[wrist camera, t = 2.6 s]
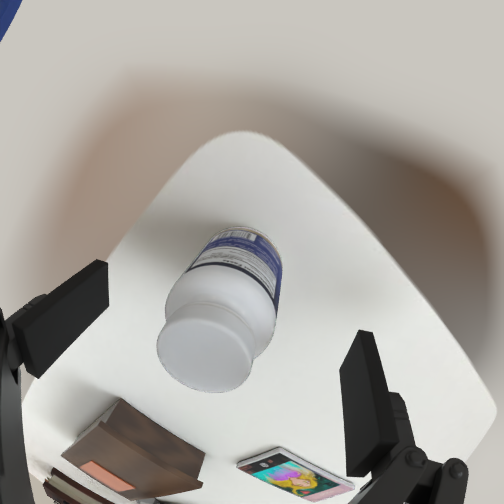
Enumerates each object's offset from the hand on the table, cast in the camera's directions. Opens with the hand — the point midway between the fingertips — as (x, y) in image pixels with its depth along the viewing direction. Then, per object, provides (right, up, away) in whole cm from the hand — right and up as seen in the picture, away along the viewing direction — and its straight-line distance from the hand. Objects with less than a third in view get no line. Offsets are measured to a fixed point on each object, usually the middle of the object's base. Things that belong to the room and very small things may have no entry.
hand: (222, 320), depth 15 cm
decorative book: (-41, -63, +39) cm, 85 cm away
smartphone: (+7, -24, +16) cm, 30 cm away
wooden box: (-15, -23, +19) cm, 33 cm away
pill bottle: (+1, +3, +6) cm, 7 cm away
